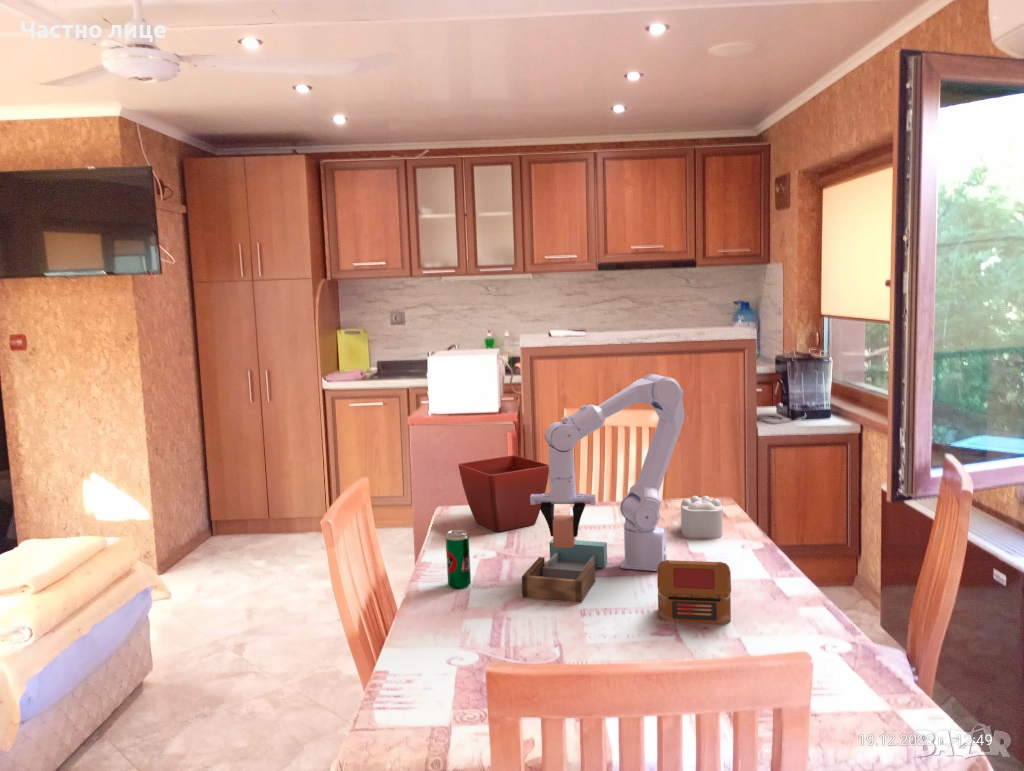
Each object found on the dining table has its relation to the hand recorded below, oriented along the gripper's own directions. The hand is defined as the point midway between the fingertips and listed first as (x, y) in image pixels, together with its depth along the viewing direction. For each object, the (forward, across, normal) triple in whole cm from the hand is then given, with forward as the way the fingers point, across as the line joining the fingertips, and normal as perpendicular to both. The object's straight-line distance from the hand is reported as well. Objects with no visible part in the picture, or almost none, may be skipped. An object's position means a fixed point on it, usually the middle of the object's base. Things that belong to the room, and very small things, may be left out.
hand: (564, 535), depth 172 cm
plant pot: (+9, +22, -37) cm, 44 cm away
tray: (+9, -1, -1) cm, 9 cm away
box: (+10, -28, +20) cm, 36 cm away
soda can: (+9, +22, +10) cm, 26 cm away
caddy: (+9, 0, +9) cm, 13 cm away
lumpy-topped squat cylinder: (+9, -31, -34) cm, 47 cm away
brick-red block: (+2, 0, 0) cm, 2 cm away
